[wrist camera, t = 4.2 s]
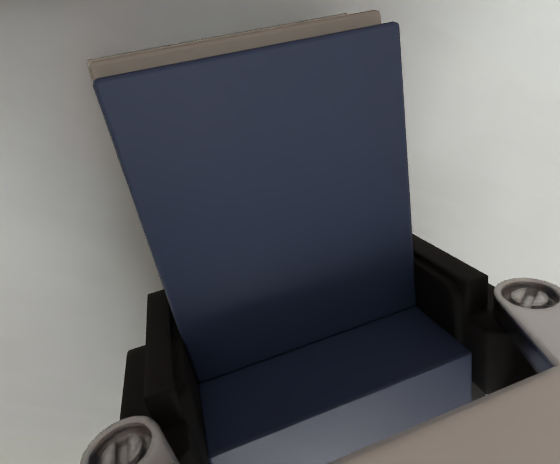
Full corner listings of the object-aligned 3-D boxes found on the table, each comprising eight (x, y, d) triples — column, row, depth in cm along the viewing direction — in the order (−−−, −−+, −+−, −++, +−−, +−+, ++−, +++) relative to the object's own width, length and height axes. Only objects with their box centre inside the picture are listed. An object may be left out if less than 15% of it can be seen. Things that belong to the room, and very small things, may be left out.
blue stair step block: (232, 468, 14) (272, 670, 9) (93, 64, 9) (16, 29, 4) (376, 409, 16) (481, 560, 11) (328, 20, 10) (493, -49, 5)
